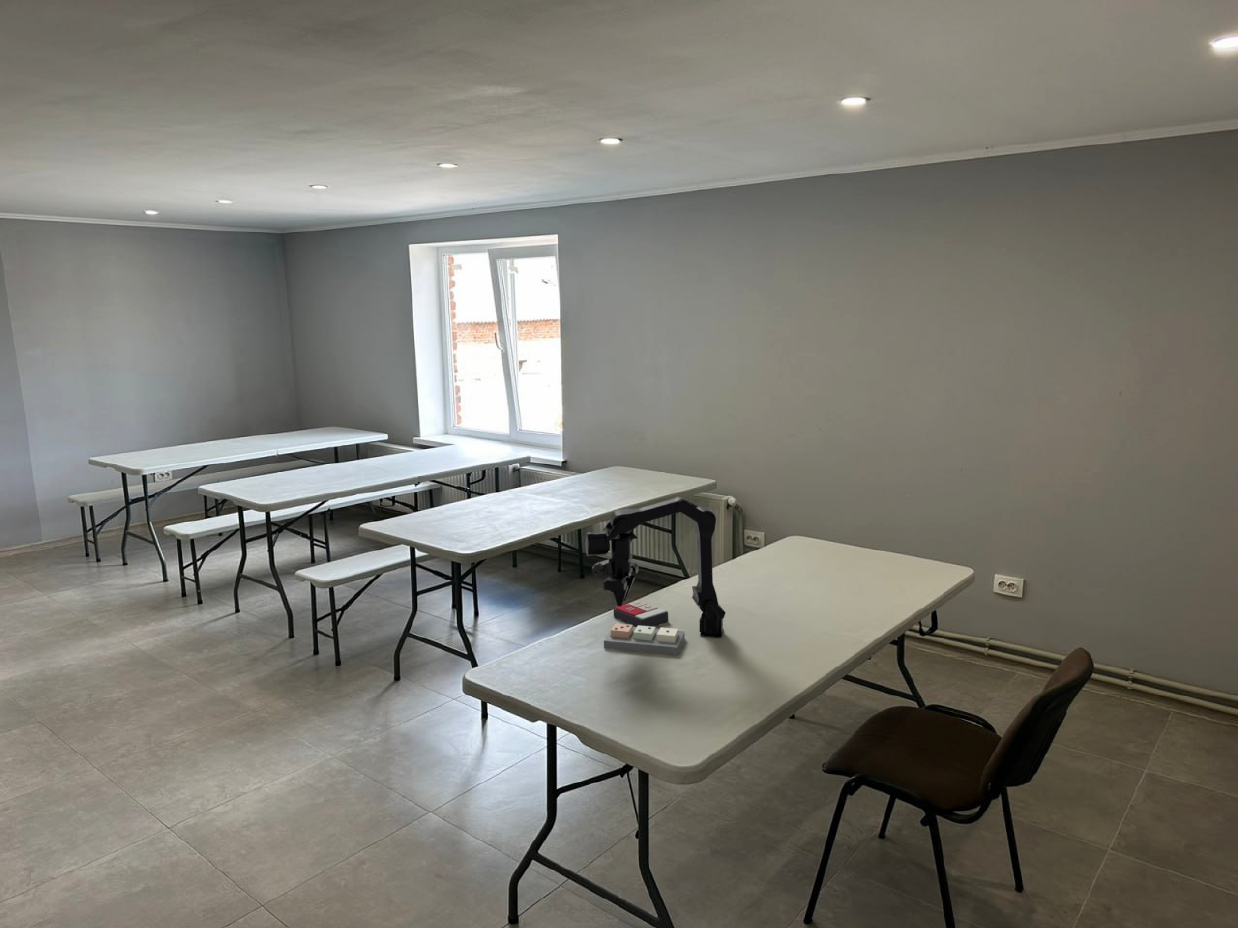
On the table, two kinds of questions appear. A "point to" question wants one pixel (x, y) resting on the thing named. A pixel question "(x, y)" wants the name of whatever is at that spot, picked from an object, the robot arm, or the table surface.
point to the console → (645, 644)
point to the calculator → (641, 614)
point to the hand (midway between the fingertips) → (621, 603)
